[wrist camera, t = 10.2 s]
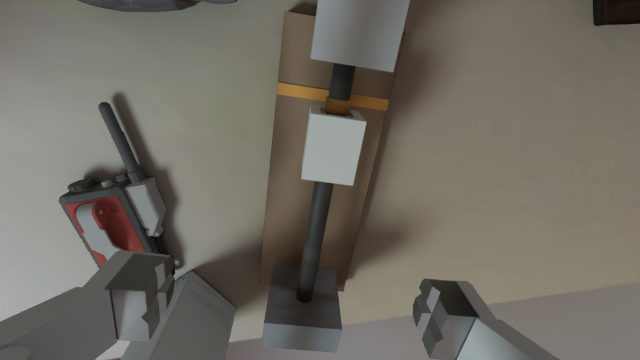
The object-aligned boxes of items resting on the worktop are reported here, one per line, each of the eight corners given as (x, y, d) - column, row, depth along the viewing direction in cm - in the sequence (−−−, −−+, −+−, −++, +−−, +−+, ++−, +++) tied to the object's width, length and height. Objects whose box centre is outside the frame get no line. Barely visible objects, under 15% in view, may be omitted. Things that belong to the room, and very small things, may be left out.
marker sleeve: (302, 161, 26) (301, 179, 23) (310, 104, 25) (310, 113, 21) (346, 167, 27) (352, 185, 23) (358, 111, 25) (366, 121, 21)
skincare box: (158, 290, 37) (69, 432, 23) (194, 266, 36) (123, 401, 22) (207, 329, 40) (152, 476, 26) (242, 309, 38) (204, 452, 25)
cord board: (260, 274, 36) (243, 350, 27) (287, -1, 25) (274, -30, 16) (341, 282, 37) (352, 358, 28) (403, 20, 26) (454, 4, 17)
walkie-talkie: (196, 266, 36) (123, 97, 28) (181, 293, 32) (91, 105, 24) (125, 278, 36) (34, 115, 28) (102, 306, 32) (-12, 125, 24)
